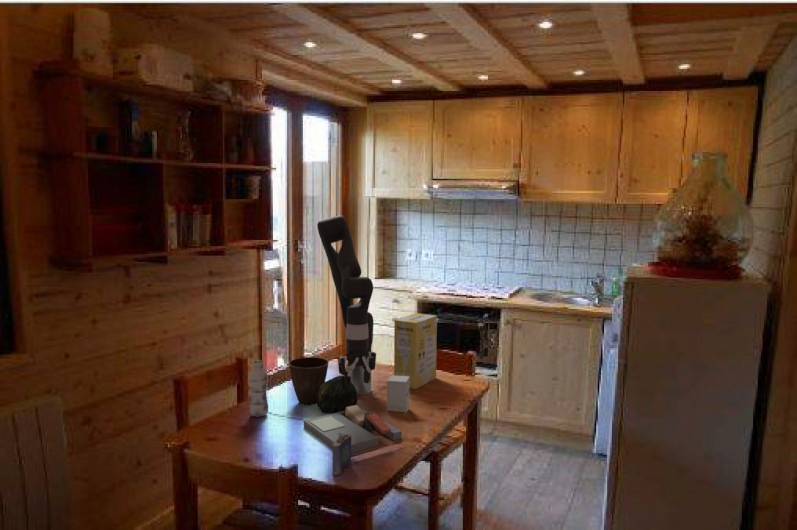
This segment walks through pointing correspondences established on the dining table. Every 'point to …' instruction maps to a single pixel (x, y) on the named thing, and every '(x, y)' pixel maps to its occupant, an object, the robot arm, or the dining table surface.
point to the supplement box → (398, 393)
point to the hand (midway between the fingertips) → (357, 384)
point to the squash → (335, 395)
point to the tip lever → (373, 422)
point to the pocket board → (346, 431)
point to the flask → (341, 453)
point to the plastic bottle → (258, 390)
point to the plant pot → (308, 378)
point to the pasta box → (415, 348)
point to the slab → (355, 415)
